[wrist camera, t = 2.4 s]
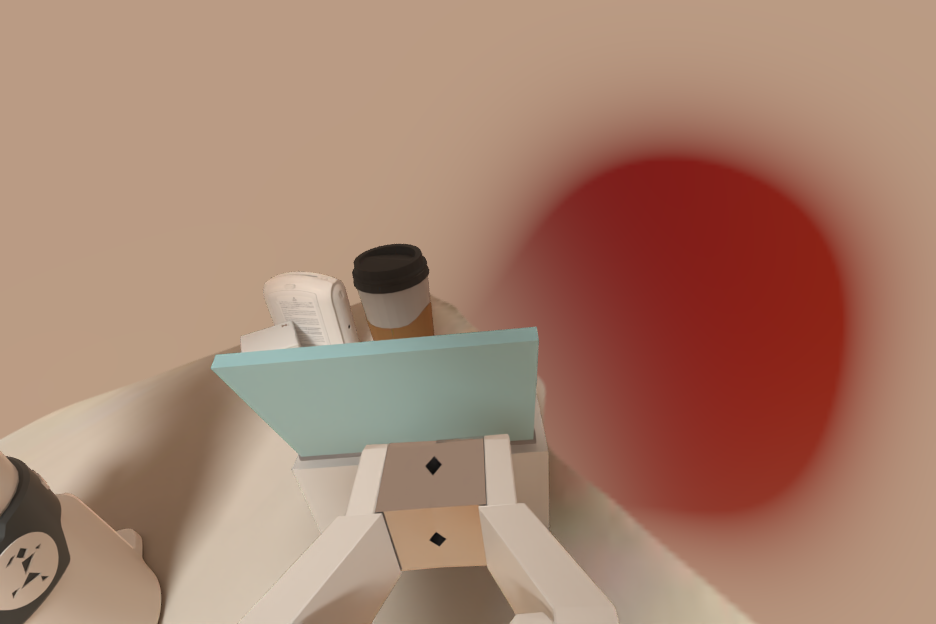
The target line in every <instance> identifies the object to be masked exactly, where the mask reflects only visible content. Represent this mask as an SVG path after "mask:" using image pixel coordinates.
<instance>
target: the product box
mask: <svg viewBox="0 0 936 624" xmlns="http://www.w3.org/2000/svg"><path fill="white" fill-rule="evenodd" d="M240 342H241V353H242V352H253V351H265V350H276V349H288V348H299V347H301V344H300V341H299V338H298V335H297V333H296V330H295V327H294V324H293V322H292V321H288V322H285V323H282V324H279V325H275V326H272V327H269V328H265V329H262V330H259V331H256V332H252V333H249V334H246V335H243V336H241V337H240Z"/></svg>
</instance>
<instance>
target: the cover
mask: <svg viewBox="0 0 936 624" xmlns="http://www.w3.org/2000/svg"><path fill="white" fill-rule="evenodd" d="M538 345H539V339H538V333H537V327H529V328H518V329H506V330H495V331H484V332H472V333H460V334H449V335H437V336H426V337H414V338H403V339H391V340H380V341H368V342H357V343H345V344H334V345H322V346H311V347H299V348H288V349H276V350H265V351H253V352H242V353H231V354H219V355H216V356H215V358H214V361H213V363H212V366H211V369H212V370H213V371H214V372H215V373H216V374H217V375H218V376H219V377H220V378H221V379H222V380H223V381H224V382H225V383H226V384H227V385H228V386H229V387H230V388H231V389H232V390H233V391H234V392H235V393H236V394H237V395H238V396H239V397H240V398H241V399H242V400H244V401H245V402H246V403H247V404H248V405H249V406H250V407H251V408H252V409H253V410H254V411H255V412H256V413H257V414H258V415H259V416H260V417H261V418H262V419H263V420H264V421H265V422H266V423H267V424H268V425H269V426H270V427H271V428H272V429H273V430H274V431H275V432H276V433H277V434H278V435H280V436H281V437H282V438H283V439H284V440H285V441H286V442H287V443H288V444H289V445H290V446H291V447H292V448H293V449H294V450H295V451H296V452H297V453H298V454H299V459H300V461H309V460H322V459H335V458H349V457H361V454H362V451H363V449H364V448H365V446H366V445H371V444H389V443H400V442H418V441H437V440H442V439H453V438H464V437H475V436H487V435H499V434H508V435H509V438H510V445H523V444H536V433H535V428H534V418H535V400H536V382H537V363H538Z"/></svg>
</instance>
